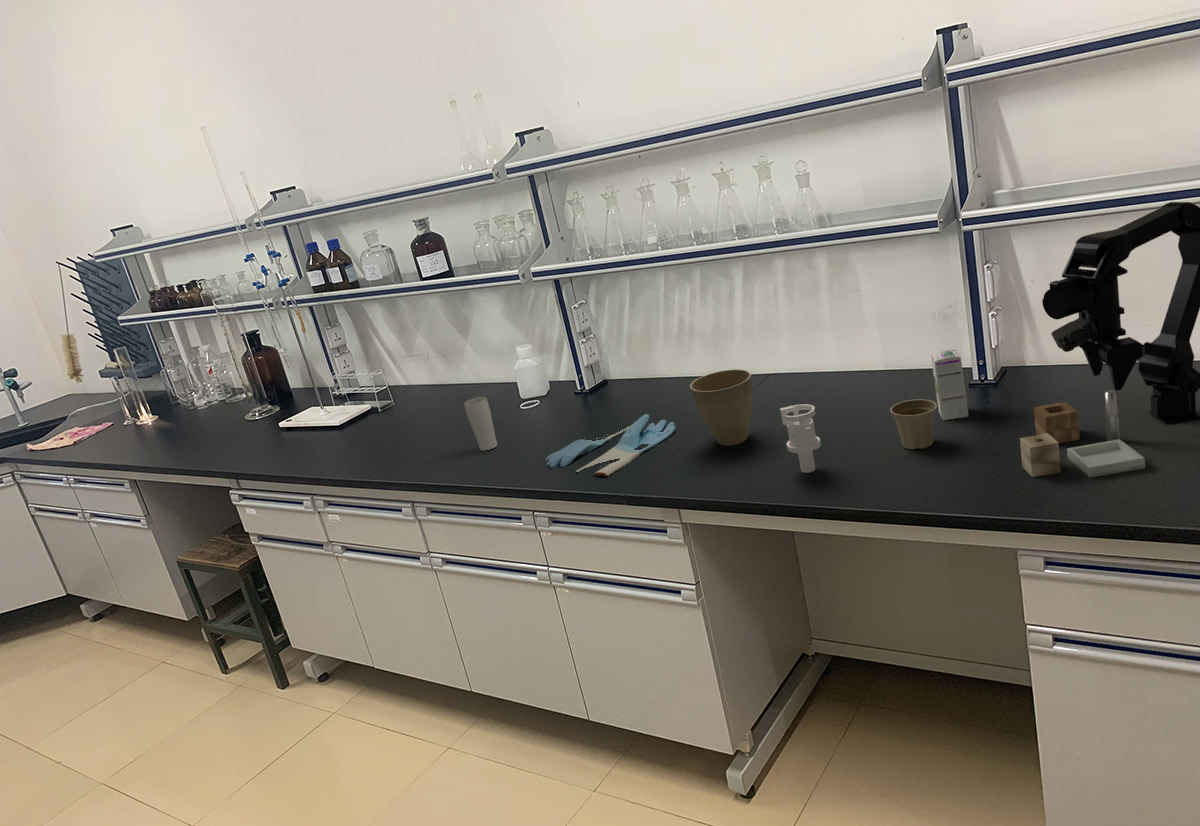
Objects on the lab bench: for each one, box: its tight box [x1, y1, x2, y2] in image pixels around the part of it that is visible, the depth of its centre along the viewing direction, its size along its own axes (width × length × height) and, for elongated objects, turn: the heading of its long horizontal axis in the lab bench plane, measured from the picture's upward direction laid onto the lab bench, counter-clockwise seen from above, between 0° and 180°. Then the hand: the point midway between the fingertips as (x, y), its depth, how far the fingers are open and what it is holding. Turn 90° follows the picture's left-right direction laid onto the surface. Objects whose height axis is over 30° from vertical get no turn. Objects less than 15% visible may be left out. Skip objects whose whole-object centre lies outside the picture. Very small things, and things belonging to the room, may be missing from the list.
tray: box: [1066, 439, 1146, 478], centre depth 159 cm, size 9×9×2 cm
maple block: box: [1019, 433, 1062, 478], centre depth 162 cm, size 5×5×6 cm
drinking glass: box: [463, 396, 498, 452], centre depth 251 cm, size 7×7×15 cm
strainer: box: [779, 403, 822, 474], centre depth 185 cm, size 7×7×15 cm
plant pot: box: [689, 368, 753, 447], centre depth 212 cm, size 15×15×16 cm
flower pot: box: [889, 398, 938, 450], centre depth 185 cm, size 9×9×9 cm
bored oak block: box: [1033, 401, 1080, 444], centre depth 173 cm, size 6×6×6 cm
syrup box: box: [930, 349, 969, 421], centre depth 195 cm, size 6×6×14 cm
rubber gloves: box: [544, 413, 677, 477], centre depth 230 cm, size 27×33×6 cm
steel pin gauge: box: [1104, 389, 1121, 441], centre depth 166 cm, size 2×2×10 cm
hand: (1107, 382), depth 164 cm, fingers open, 9 cm apart
